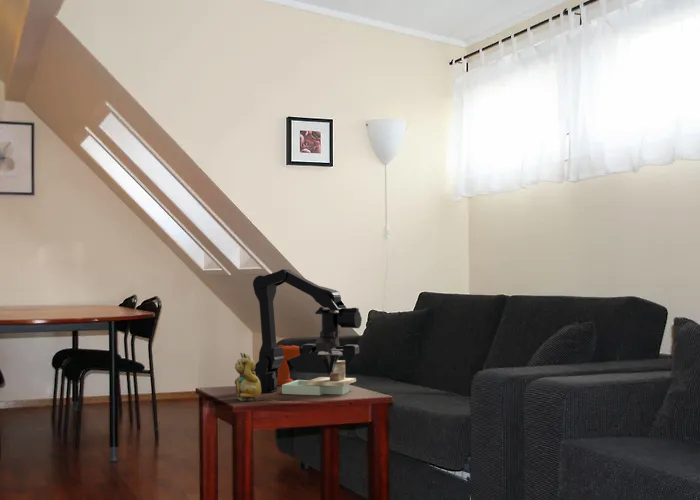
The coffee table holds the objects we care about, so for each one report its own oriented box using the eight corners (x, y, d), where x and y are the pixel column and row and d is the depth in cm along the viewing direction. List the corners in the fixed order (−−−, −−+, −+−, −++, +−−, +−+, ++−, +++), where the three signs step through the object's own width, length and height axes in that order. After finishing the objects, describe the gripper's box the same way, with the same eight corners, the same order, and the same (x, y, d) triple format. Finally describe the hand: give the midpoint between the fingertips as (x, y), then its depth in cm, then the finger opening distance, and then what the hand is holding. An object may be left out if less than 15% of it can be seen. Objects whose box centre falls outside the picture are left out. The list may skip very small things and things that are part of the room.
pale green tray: (282, 396, 279) (282, 384, 279) (297, 391, 293) (297, 379, 293) (339, 398, 273) (339, 387, 274) (352, 393, 287) (351, 381, 287)
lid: (305, 384, 277) (305, 374, 277) (319, 379, 290) (319, 369, 290) (343, 386, 273) (343, 375, 273) (356, 381, 286) (356, 370, 287)
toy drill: (326, 381, 308) (320, 340, 308) (274, 388, 307) (268, 347, 307) (325, 379, 312) (320, 339, 313) (274, 386, 312) (269, 345, 312)
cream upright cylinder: (333, 390, 293) (333, 361, 294) (333, 389, 297) (333, 360, 298) (345, 390, 293) (345, 361, 294) (345, 389, 298) (345, 360, 298)
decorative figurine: (231, 398, 276) (231, 351, 276) (256, 396, 279) (256, 350, 280) (240, 402, 267) (240, 354, 268) (265, 400, 271) (265, 353, 271)
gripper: (295, 328, 277) (295, 377, 277) (349, 329, 272) (350, 378, 271) (306, 327, 288) (306, 373, 287) (359, 327, 283) (359, 375, 282)
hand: (330, 375), depth 282 cm, fingers closed
